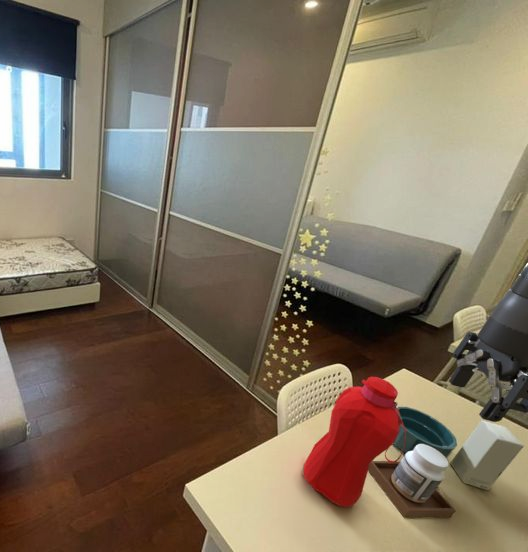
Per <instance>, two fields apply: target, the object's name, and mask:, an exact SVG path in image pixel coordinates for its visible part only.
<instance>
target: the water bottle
mask: <svg viewBox="0 0 528 552" xmlns="http://www.w3.org/2000/svg"><path fill="white" fill-rule="evenodd" d="M361 384H363V386H359V385H357V386H349V387H347V388H346V389H344V390H343V391H342V392H341V393H340V395H339V396H338V397H337V398H336V400H335V404H334V406H333V408H332V409H331V414H330V420H329V426H328V427H329V428H328V432H326V433H325V434H324V435H323V436H322V437H321V438H319V440H318V441H317V442H316V443H315V444H314V445H313V447H312V449H311V451H310V452H309V454H308V456H307V458H306V460H305V462H304V464H303V477H304V479H305V480H306V482H307V483H308V484H309V485H310V486H311V488H313V489H314V490H315V491H316V492H317V493H320V494H322V495H324V497H326V498H327V499H328V501H331V502H332V503H333V504H336V505H338V506H340V507H345V508H350V507H352V506H353V505H355V504H356V503H357V501H358V500H359V499H360V497H361V495H362V493H363V490H364V486H365V483H366V478H367V476H368V473H369V471H368V468H369V464H370V463H371V462H372V461H375V459H377V457H379V456H380V455H381V454H383V453H384V452H385V453H384V457H385V461H389V462H391V463H394V462H396V461H399V460H400V458H401V457H402V455H403V450H401V453H400V454H399V456H398V458H397V459H395V460H390V459H389V458H387V452H388V450H389V449H390V447H391V446H392V445H393V444H394V442H395V440H396V438H397V435H398V434H399V432H400V429H399V426H400V428H401V423H402V425H403V422H402V418H401V416H400V412H399V411H398V409H397V407H398V402H397V401H396V399H397V397H398V396H399V392H398V390H397V388H396V387H395V386H394V385H393V384H392V383H391V382H390V381H387V380H386V379H383V378H381V377H378V376H369V377H367V379H364V378H363V379H362V380H361ZM403 427H404V425H403ZM404 429H405V427H404ZM405 438H406V429H405ZM404 444H405V441H404ZM403 449H404V446H403Z"/></svg>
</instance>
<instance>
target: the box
mask: <svg viewBox="0 0 528 552" xmlns="http://www.w3.org/2000/svg"><path fill="white" fill-rule="evenodd" d="M524 447H525V445H524V444H523V443H522V441H520V440H519V439H518V438H517V437H516V436H515V435H514V434H513V432H512V431H510V429H508V428H507V427H506V426H503V425H500V424H496V423H494V422H490V421H487V420H483V419H481V420H480V421H479V422H478V423H477V425H476V426H475V428H474V430H473V431H472V432H471V434H470V435H469V436H468V437H467V439H466V440H465V442H464V443H463V445H462V446H461V448H460V449H459V450H458V451H457V453H456V454H455V456H454V457H453V459H452V460H451V461H450V465H451V467H452V469H454V471H455V473H456V474H457V476H458V478H460V480H461V481H462V483H463V484H467V485H469V486H473V487H475V488H479V489H482V490H485V491H489V490H490V489H491V487H493V485H494V484H495V482H496V481H497V480H498V478H500V477H501V475H502V474H503V473H504V472H505V470H506V469H507V468H508V467H509V465H510V464H511V463H512V462H513V460H515V458H516V457H517V456H518V454H519V453H521V451H522V449H523V448H524Z"/></svg>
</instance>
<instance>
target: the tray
mask: <svg viewBox="0 0 528 552" xmlns="http://www.w3.org/2000/svg"><path fill="white" fill-rule="evenodd" d="M400 462H401V461H399V460H398V461H396V462H394V463H391V462H389V461H387V460H373V461H372V462H371V463H370V464H369V468H368V473H370V475H371V476H372V478H373V479H374V481H376V483H377V484H378V485H379V487H380V488H381V489H382V491H383V492H384V493H385V495H386V496H387V497H388V498H389V500H390V501H391V503H392V504H393V505H394V506H395V508H396V509H397V510H398V511H399V513H400V514H401V516H402V517H403V518H426V519H427V518H429V519H430V518H435V519H436V518H439V519H441V518H445V519H446V518H447V519H450V518H452V517H453V516H454V514H456V512H457V510H456V509H455V508H454V506H453V505H452V504H451V503H450V502H449V500H447V498H445V496H444V495H443V494H441V493H442V492H440V490H438V489H437V488H436V490H435V491H434V492H433V493H432V495H431V496H430V497H429V498H428V499H427V501H425V502H424V503H417V502H414V501H411V500H409V499H407V498H406V497H404V496H403V495H402V494H401V493H399V492H398V491H397V490H396V488H395V487H394V486H393V484H392V481H391V476H392V474H393V472H394V471H395V469H396V467H397V466H398V465H399V463H400Z"/></svg>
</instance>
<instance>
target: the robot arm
mask: <svg viewBox="0 0 528 552" xmlns="http://www.w3.org/2000/svg"><path fill="white" fill-rule="evenodd" d="M465 351H467V353H464V352H465ZM451 356H452V358H453V359H456V368H455V370H454V371H453V373H452V374H451V375H450V378H449V380H448V382H449V383H450V385H452V386H454V387H458V388H465V387H466V386H467V385H468V383H469V382H470V380H471V379H472V377H473V376H474V375H475V371H476V370H479V371H481V372H483V374H484V375H485V376H486V377H487V378H488V382H487V383H488V386H489V388H491V398H489V400H488V401H487V402H486V404H485V405H484V406H483V408H482V409H481V410H480V412H479V414H478V416H479V417H480V418H481V420H483V421H487V422H491V423H497V422H498V423H499V422H501V421H502V420H503V418H504V417H505V416H506V415H507V414H508V412H509V411H510V410H512V411H516V412H521V413H525V414H527V413H528V262H527V263H526V265H525V266H524V267H523V268H522V270H521V271H520V273H519V274H518V276H517V277H516V279H515V280H514V282H513V283H512V285H511V286H510V288H509V289H508V291H507V292H506V293H505V294H504V295H503V296H502V297H501V298H500V300H499V301H498V302H497V304H496V305H495V307H494V309H493V310H492V312H491V313H490V315H489V316H488V318H487V320H486V321H485V322H484V324H483V325H482V327H481V328H480V330H479V332H472V331H468V332H466V334H465V335H464V336H463V338H462V340H461V341H460V343H459V344H458V345H457V347H456V348H455V349H454V351H453V352H452V355H451ZM501 382H502V383H501ZM507 382H509V383H510V384H509V385H508V384H504V383H507ZM503 391H505V392H506V396H503ZM519 399H521V401H520V402H519V401H518V400H519Z"/></svg>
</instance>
